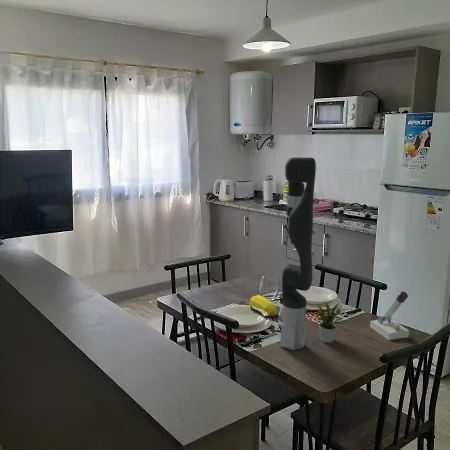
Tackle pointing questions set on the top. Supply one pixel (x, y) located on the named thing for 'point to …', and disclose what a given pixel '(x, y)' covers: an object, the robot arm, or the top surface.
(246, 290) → the top surface
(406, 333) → the press base
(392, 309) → the press lever
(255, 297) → the yellow curved elongated piece
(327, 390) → the top surface
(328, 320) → the house plant
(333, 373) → the top surface
